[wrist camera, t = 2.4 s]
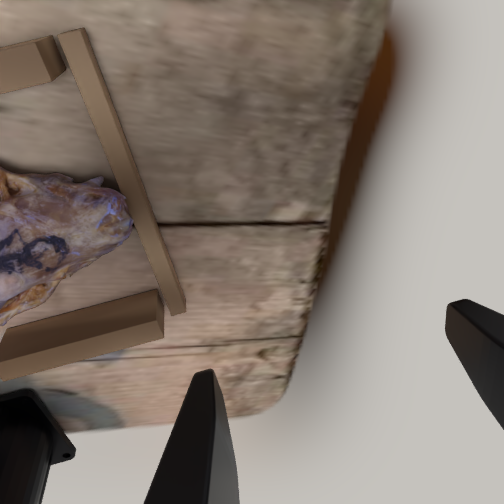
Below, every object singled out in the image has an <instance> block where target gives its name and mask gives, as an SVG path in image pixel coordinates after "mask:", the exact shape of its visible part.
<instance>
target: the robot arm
mask: <svg viewBox="0 0 504 504" xmlns="http://www.w3.org/2000/svg"><path fill="white" fill-rule="evenodd" d="M445 332H446V336H447V338H448V340H449V342H450V344H451V346H452V347H453V349H454V351H455V353H456V355H457V356H458V358H459V360H460V361H461V363H462V365H463V367H464V368H465V370H466V372H467V374H468V376H469V378H470V379H471V381H472V383H473V385H474V386H475V388H476V390H477V392H478V393H479V395H480V397H481V398H482V400H483V401H484V403H485V404H486V406H487V407H488V409H489V410H490V411H491V412H492V414H493V416H494V417H495V418H496V420H497V421H498V423H499V424H500V425H501V427H502V428H503V430H504V315H503V314H500V313H498V312H496V311H494V310H491V309H489V308H487V307H484V306H482V305H480V304H478V303H475V302H473V301H471V300H468V299H462V300H458V301H455V302H451V303H449V304H448V306H447V311H446V324H445ZM75 452H76V448H75V447H74V445H73V444H72V443H71V441H70V440H69V439H68V437H67V436H66V435H65V433H64V432H63V431H62V429H61V428H60V427H59V425H58V424H57V423H56V421H55V420H54V419H53V417H52V416H51V415H50V413H49V412H48V411H47V409H46V408H45V407H44V405H43V404H42V403H41V401H40V400H39V399H38V397H37V396H36V395H35V394H34V393H33V392H31V391H28V390H24V391H19V392H16V393H12V394H8V395H5V396H1V397H0V504H41V503H42V499H43V494H44V490H45V486H46V482H47V478H48V474H49V470H50V466H51V465H53V464H57V463H60V462H64V461H67V460H71V459H72V458H74V456H75ZM144 504H240V503H239V490H238V476H237V467H236V461H235V455H234V450H233V445H232V439H231V434H230V429H229V424H228V418H227V413H226V408H225V403H224V398H223V394H222V391H221V389H220V386H219V383H218V380H217V378H216V375H215V372H214V370H212V369H207V370H204V371H200V372H197V373H195V374H194V376H193V378H192V381H191V383H190V386H189V388H188V391H187V394H186V396H185V399H184V401H183V404H182V406H181V409H180V411H179V414H178V417H177V419H176V422H175V424H174V427H173V430H172V432H171V435H170V437H169V440H168V442H167V445H166V447H165V450H164V452H163V455H162V458H161V460H160V463H159V465H158V468H157V470H156V473H155V476H154V478H153V481H152V483H151V486H150V489H149V491H148V494H147V496H146V499H145V501H144Z"/></svg>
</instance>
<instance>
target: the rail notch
mask: <svg viewBox="0 0 504 504" xmlns="http://www.w3.org/2000/svg"><path fill="white" fill-rule="evenodd" d="M57 36H58V39H59V41H60V44H61V46H62V49H63V51H64V53H65V56H66V58H67V61H68V63H69V66H70V68H71V71H72V73H73V76H74V78H75V80H76V83H77V85H78V88H79V90H80V93H81V95H82V98H83V100H84V103H85V105H86V107H87V110H88V112H89V115H90V117H91V120H92V122H93V125H94V127H95V129H96V132H97V134H98V137H99V139H100V142H101V144H102V147H103V149H104V152H105V154H106V156H107V159H108V161H109V164H110V166H111V169H112V171H113V174H114V176H115V179H116V181H117V183H118V186H119V188H120V191H121V193H122V195H124V196H125V197H126V199H124V200H125V202H126V204H127V206H128V210H129V213H130V215H131V218H132V219H133V223H134V225H135V228H136V230H137V232H138V235H139V237H140V240H141V242H142V245H143V247H144V250H145V252H146V255H147V257H148V259H149V262H150V264H151V267H152V269H153V272H154V274H155V277H156V279H157V282H158V284H159V286H160V289H161V291H162V294H163V296H164V299H165V301H166V304H167V306H168V309H169V311H170V313H171V316H174V315H177V314H181V313H185V312H186V300H185V297H184V294H183V292H182V289H181V286H180V284H179V281H178V278H177V276H176V273H175V270H174V268H173V265H172V262H171V259H170V257H169V254H168V251H167V249H166V246H165V243H164V241H163V238H162V235H161V233H160V230H159V227H158V225H157V222H156V219H155V217H154V214H153V211H152V208H151V206H150V203H149V200H148V198H147V195H146V192H145V190H144V187H143V184H142V182H141V179H140V176H139V174H138V171H137V168H136V165H135V163H134V160H133V157H132V155H131V152H130V149H129V147H128V144H127V141H126V139H125V136H124V133H123V131H122V128H121V125H120V123H119V120H118V117H117V114H116V112H115V109H114V106H113V104H112V101H111V98H110V96H109V93H108V90H107V88H106V85H105V82H104V80H103V77H102V74H101V72H100V69H99V66H98V63H97V61H96V58H95V55H94V53H93V50H92V47H91V45H90V42H89V39H88V37H87V34H86V31H85V29H84V28H80V29H76V30H72V31H68V32H63V33H61V34H59V35H57ZM65 70H66V68H65V65H64V63H63V60H62V58H61V55H60V53H59V51H58V48H57V46H56V43H55V41H54V39H53V36H52V35H51V36H47V37H43V38H39V39H34V40H30V41H26V42H22V43H18V44H14V45H10V46H5V47H1V48H0V94H3V93H7V92H11V91H15V90H19V89H23V88H27V87H31V86H36V85H40V84H44V83H48V82H52V81H53V80H54V79H55V78H57V77H58V76H59V75H60V74H61V73H63V72H64V71H65ZM162 338H164V304H163V302H162V300H161V297H160V295H159V292H158V290H157V289H155V290H152V291H148V292H144V293H140V294H137V295H133V296H129V297H125V298H122V299H118V300H114V301H110V302H107V303H103V304H99V305H95V306H92V307H88V308H84V309H80V310H77V311H73V312H69V313H65V314H62V315H58V316H54V317H50V318H47V319H43V320H39V321H35V322H32V323H28V324H24V325H20V326H17V327H13V328H9V329H7V330H6V332H5V334H4V336H3V338H2V341H1V343H0V378H1V379H2V381H3V382H4V381H7V380H11V379H15V378H18V377H22V376H26V375H29V374H33V373H37V372H40V371H44V370H48V369H52V368H55V367H59V366H63V365H66V364H70V363H74V362H77V361H81V360H85V359H88V358H92V357H96V356H99V355H103V354H107V353H110V352H114V351H118V350H122V349H125V348H129V347H133V346H136V345H140V344H144V343H147V342H151V341H155V340H158V339H162Z"/></svg>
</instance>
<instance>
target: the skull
mask: <svg viewBox="0 0 504 504" xmlns="http://www.w3.org/2000/svg"><path fill="white" fill-rule="evenodd" d="M103 180H104V178H103V177H102V176H100V177H97V178H94V179H90V180H88V181H86V182H83V183H73V182H72V181H73V179H72V178H70V177H67V176H64V175H62V174H60V173H52V174H46V175H42V174H36V173H33V174H15V173H12V172H10V171H8V170H6V169H4V168H2V167H0V326H4V325H5V324H6V322H7V321H8V320H9V319H11V318H12V317H13V316H15V315H16V314H19V313H21V312H24V311H26V310H29V309H32V308H35V307H37V306H39V305H41V304H42V303H44V302H45V301H46V300H47V299H48V298H49V297H50V296H51V295H52V293H53V292H54V290H55V288H56V287H57V285H58V284H59V282H60V281H61V280H62V279H65V278H66V277H67V276H68V275H70V277H71V275H72V274H74V273H75V272H76V271H78V270H80V269H81V268H83V267H85V266H88V265H90V264H91V263H92V262H93V261H95V260H96V259H98V258H99V257H100V256H102V255H104V254H107V253H109V252H111V251H112V250H114V249H115V248H116V247H118V246H119V245H121V244H122V242H123V241H124V240H126V239H127V238H128V237H129V235H130V233H131V231H132V224H133V219H131V217H130V215H129V210H128V206H127V204H126V202H125V200H124V199H126V197H125V196H124V195H122V194H120V193H119V192H117V191H116V190H113V189H110V188H102V187H100V185H101V184H102V183H103Z"/></svg>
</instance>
